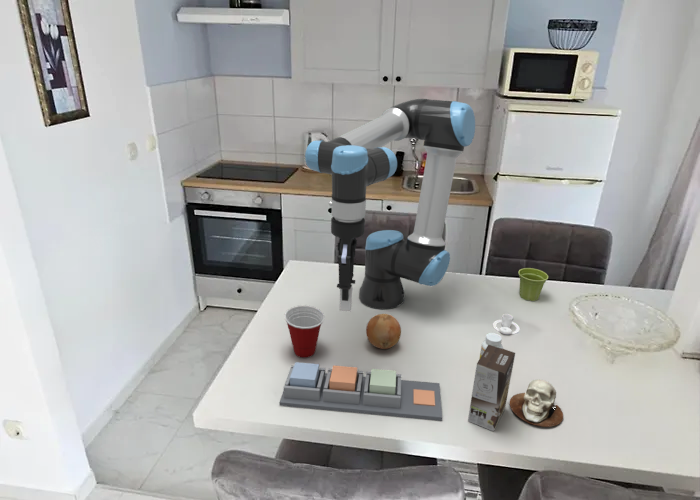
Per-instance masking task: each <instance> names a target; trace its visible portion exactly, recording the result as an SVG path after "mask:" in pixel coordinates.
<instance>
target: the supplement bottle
mask: <svg viewBox="0 0 700 500" xmlns="http://www.w3.org/2000/svg"><path fill="white" fill-rule="evenodd" d="M484 339H485V340H483V341H482V342H481V347H480V353H479V358H478V359H480V358H481V356H482V354H483V353H484V351H485V349H486V348H487V346H488V345H491V346H494V347H498V348H502V349H504V347H503V344H502V342H503V341H502V340H503V337H502V336H501V335H500V334H498V333H495V332H489V333H487V334H485V338H484Z"/></svg>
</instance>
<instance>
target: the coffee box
mask: <svg viewBox="0 0 700 500" xmlns="http://www.w3.org/2000/svg"><path fill="white" fill-rule="evenodd" d="M515 357H516V352H513V351H511V350H508V349H504V348H503V349H502V348H498V347H494V346H491V345H488V346H487V348H486V349H485V351H484V353H483V354H482V356H481V358H480V357H479V358H480V359H479V358H478V359H479V360H478V361H477V362H476V366H475V373H474V377H473V378H474V379H473V385H472V393H471V399H470V405H469V411H468V412H469V413H468V418H467V421H468V422H469V423H472V424H475V425H478V426H480V427H482V428H484V429H487V430H489V431H491V432H494V431H495V430H496V428H497V426H498V424H499V421H500V420H501V418H502V416H503V413H504V412H505V410H506V405H507V399H508V395H509V390H510V384H511V378H512V373H513V368H514V367H513V366H514V363H515Z"/></svg>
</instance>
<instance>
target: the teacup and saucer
mask: <svg viewBox="0 0 700 500" xmlns="http://www.w3.org/2000/svg"><path fill="white" fill-rule="evenodd" d="M513 318H514V316H513V315H512V314H509V313H503V314H502V315H501V319H496V320H495V321H493V322H492V327H493V329H494V330H496V331H497V332H499V333H501V334H503V335H514V334H518V333H519V332H520V331H521V328H520V326H519V325H518V324H517V323H516V322H514V321H513V320H514V319H513ZM499 323H501V327H500V326H499V327H497V324H499ZM512 325H513V326H514V327H515V330H514V331H513V330H512V329H511V326H512Z"/></svg>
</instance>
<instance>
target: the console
mask: <svg viewBox="0 0 700 500" xmlns="http://www.w3.org/2000/svg"><path fill="white" fill-rule="evenodd" d="M294 365H295V364H294ZM294 365H291V366H290V368H289V370H288V373H287V377H286V380H285V383H284V385H283V391H282V393H281V396H280V400H279V402H278V403H279V406H281V407H291V408H292V407H293V408H301V409H302V408H303V409H312V410H321V411H322V410H323V411H332V412H333V411H334V412H343V413H355V414H364V415H365V414H366V415H375V416H376V415H377V416H388V417H396V418H397V417H399V418H408V419H418V420H419V419H420V420H429V421H440V422H442V421H443V411H442V410H443V409H442V400H441V398H442V397H441V396H442V395H441V385H440V382H430V381H429V382H428V381H419V380H406V379H402V374H398V373H396V388H395V395H385V394H374V393H369V391H370V379H371V371H366V373H365V376H364V371H362V370H357V382H356V388H355V392H352V391H341V390H330V389H329V381H330V377H331V373H332V367H331V368H328V370H327V372H326V367H319V377H318V381H317V384H316V388H307V387H296V386H290V376H291V373H292V370H293V367H294Z"/></svg>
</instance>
